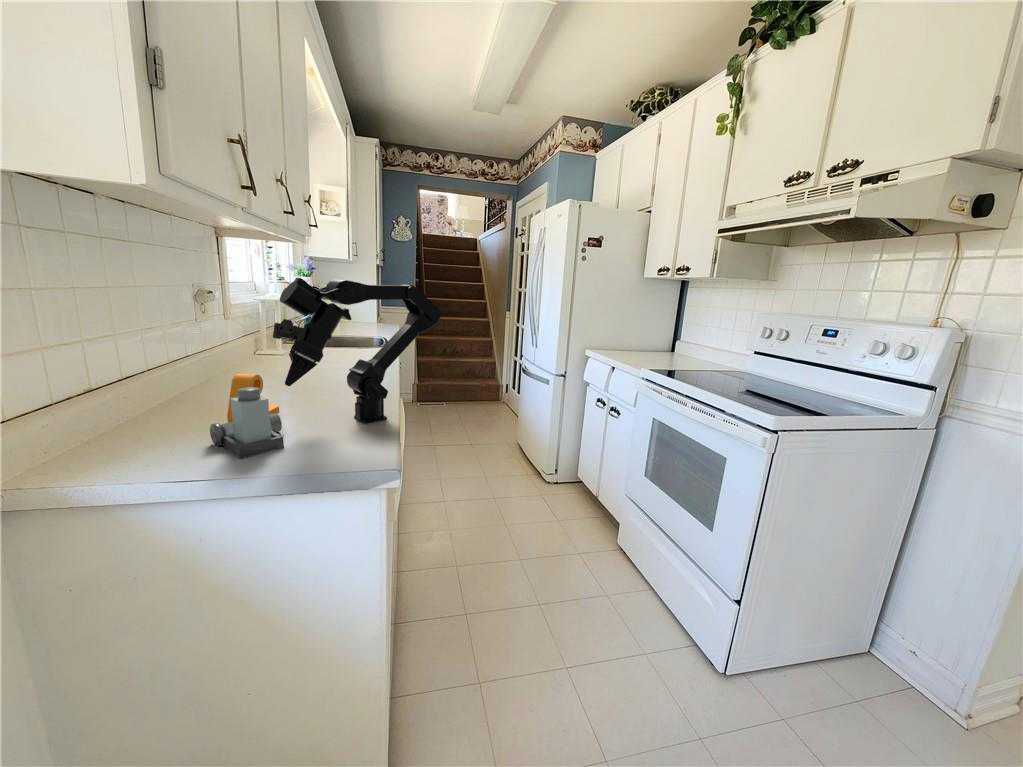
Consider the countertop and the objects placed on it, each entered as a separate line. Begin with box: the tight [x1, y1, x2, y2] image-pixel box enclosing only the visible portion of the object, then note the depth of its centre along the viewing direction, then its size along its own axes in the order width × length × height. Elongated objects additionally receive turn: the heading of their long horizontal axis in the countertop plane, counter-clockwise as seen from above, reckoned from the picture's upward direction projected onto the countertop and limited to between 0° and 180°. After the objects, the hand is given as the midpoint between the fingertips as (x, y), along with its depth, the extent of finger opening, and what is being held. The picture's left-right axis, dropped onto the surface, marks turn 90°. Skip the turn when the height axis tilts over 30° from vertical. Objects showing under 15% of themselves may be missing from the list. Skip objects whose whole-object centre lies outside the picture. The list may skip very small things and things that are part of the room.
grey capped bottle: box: [229, 387, 271, 445], centre depth 89 cm, size 5×5×13 cm
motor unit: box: [209, 413, 285, 460], centre depth 93 cm, size 13×13×5 cm
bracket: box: [226, 373, 280, 423], centre depth 106 cm, size 11×7×12 cm, turn 1°
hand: (286, 385), depth 96 cm, fingers open, 9 cm apart
